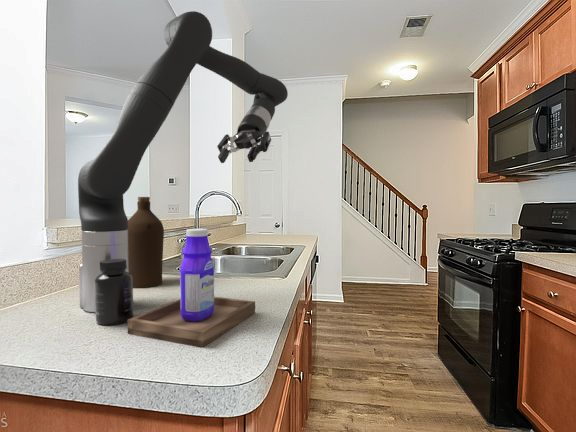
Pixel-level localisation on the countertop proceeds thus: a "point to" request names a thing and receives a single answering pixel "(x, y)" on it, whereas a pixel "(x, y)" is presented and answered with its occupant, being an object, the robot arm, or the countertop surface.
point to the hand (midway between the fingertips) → (235, 160)
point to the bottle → (197, 277)
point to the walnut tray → (191, 322)
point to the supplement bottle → (113, 293)
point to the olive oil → (145, 246)
